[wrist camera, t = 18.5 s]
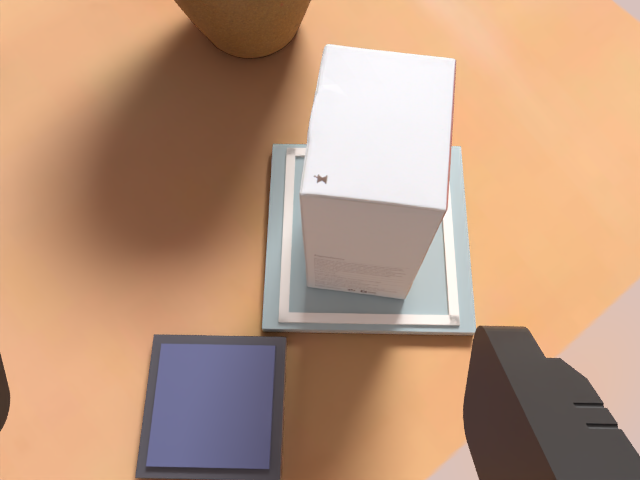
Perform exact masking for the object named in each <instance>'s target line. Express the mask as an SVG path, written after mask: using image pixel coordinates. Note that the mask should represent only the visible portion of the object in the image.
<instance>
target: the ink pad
mask: <svg viewBox="0 0 640 480" xmlns="http://www.w3.org/2000/svg"><path fill="white" fill-rule="evenodd" d="M286 352H287V338H286V337H261V336H207V335H154V339H153V346H152V354H151V362H150V369H149V377H148V385H147V392H146V400H145V408H144V415H143V423H142V431H141V438H140V446H139V454H138V461H137V469H136V477H135V478H167V479H212V480H281V471H282V447H283V423H284V400H285V376H286Z"/></svg>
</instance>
